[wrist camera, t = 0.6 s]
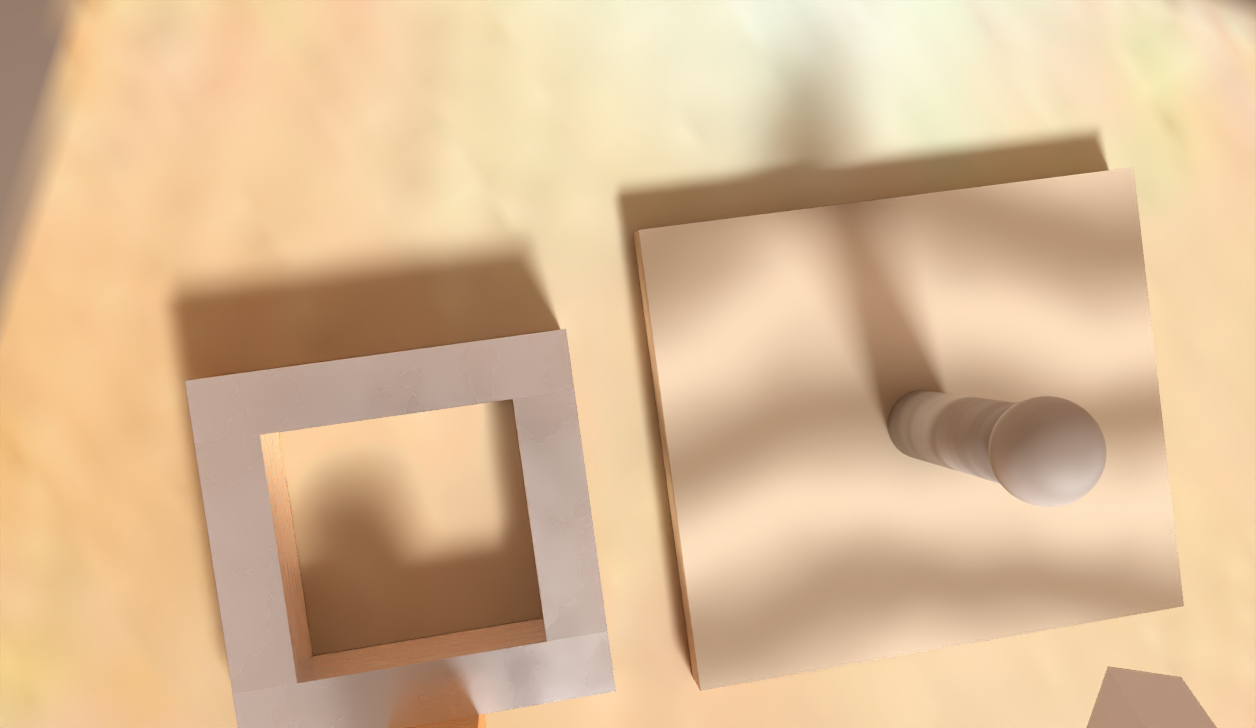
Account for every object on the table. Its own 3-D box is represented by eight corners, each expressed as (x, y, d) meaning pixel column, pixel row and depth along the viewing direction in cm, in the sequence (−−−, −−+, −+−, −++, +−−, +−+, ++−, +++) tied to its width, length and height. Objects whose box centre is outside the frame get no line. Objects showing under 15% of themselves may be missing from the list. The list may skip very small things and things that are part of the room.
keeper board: (1159, 596, 42) (1421, 700, 30) (692, 677, 40) (776, 823, 28) (1110, 173, 41) (1359, 108, 29) (633, 233, 39) (693, 190, 27)
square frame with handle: (209, 376, 38) (133, 388, 30) (560, 329, 39) (577, 328, 31) (287, 892, 38) (233, 1038, 31) (629, 828, 40) (662, 951, 32)
